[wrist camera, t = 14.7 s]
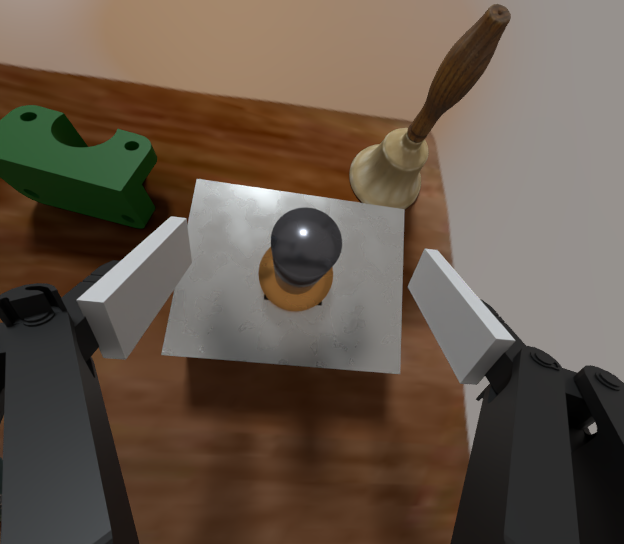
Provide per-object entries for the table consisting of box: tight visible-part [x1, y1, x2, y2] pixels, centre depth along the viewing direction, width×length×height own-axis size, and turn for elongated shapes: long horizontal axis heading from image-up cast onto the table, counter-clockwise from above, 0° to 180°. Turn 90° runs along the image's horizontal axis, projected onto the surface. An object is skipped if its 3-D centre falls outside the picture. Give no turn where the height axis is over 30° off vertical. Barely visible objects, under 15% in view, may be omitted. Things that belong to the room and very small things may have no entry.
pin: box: [258, 207, 342, 312], centre depth 18 cm, size 6×6×14 cm
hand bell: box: [349, 4, 511, 209], centre depth 21 cm, size 8×8×16 cm
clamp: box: [0, 105, 157, 229], centre depth 23 cm, size 12×6×9 cm, turn 70°
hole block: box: [161, 179, 405, 374], centre depth 23 cm, size 18×14×5 cm
